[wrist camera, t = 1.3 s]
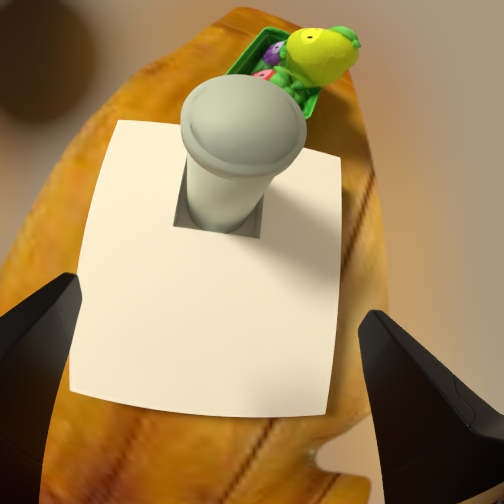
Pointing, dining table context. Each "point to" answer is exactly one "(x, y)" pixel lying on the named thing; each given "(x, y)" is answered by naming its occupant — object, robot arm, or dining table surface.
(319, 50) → the fruit basket
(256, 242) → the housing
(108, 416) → the dining table surface
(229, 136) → the grey cylinder
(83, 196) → the dining table surface
